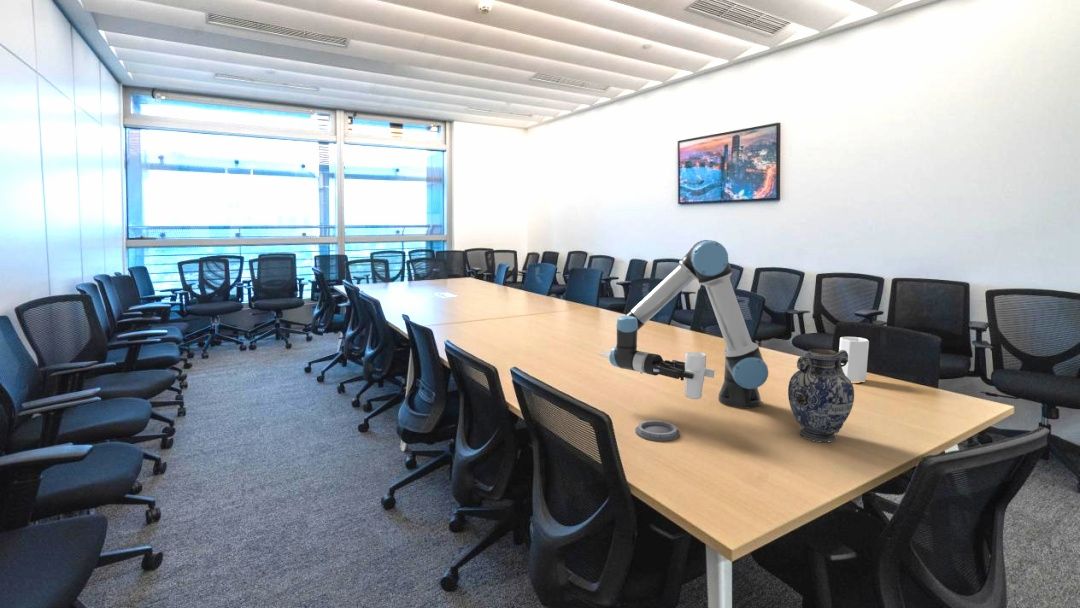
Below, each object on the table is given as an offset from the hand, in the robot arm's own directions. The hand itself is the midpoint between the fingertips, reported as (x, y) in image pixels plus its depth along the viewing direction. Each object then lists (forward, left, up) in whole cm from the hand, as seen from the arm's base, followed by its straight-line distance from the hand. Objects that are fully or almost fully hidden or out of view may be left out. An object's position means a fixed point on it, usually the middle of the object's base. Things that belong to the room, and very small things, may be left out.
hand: (708, 375), depth 174 cm
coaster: (+15, +9, -18) cm, 25 cm away
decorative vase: (-34, -5, -18) cm, 39 cm away
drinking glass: (+5, -2, -9) cm, 10 cm away
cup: (-58, -80, -18) cm, 101 cm away
